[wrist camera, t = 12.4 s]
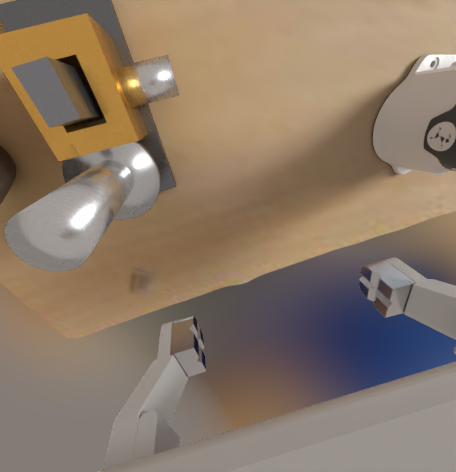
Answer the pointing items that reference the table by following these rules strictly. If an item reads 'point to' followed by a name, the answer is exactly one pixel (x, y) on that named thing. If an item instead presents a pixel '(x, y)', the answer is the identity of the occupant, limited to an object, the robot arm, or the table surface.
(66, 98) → the grey square rod
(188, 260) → the table surface
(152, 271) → the table surface
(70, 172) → the gold block fixture
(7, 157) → the plant pot
